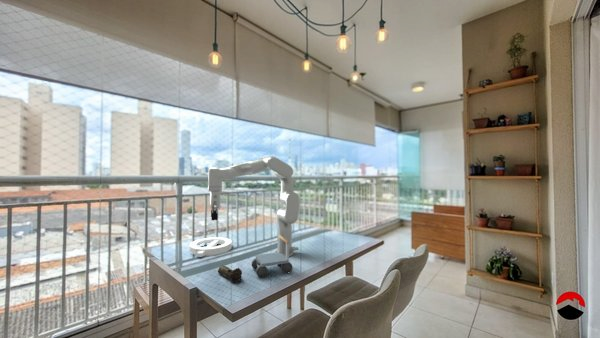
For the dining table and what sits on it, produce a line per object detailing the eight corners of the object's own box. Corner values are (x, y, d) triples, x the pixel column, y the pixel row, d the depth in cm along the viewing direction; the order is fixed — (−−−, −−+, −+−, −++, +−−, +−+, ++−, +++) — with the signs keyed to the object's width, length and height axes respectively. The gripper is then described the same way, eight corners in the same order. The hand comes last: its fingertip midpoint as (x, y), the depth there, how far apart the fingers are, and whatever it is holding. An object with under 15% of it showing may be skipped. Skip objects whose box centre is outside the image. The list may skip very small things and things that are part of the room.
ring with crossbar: (221, 241, 190) (221, 235, 190) (238, 250, 170) (238, 243, 170) (183, 248, 171) (184, 242, 171) (198, 259, 151) (198, 252, 151)
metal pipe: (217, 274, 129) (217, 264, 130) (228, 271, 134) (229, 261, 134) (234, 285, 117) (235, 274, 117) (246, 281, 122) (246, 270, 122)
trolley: (284, 263, 145) (284, 234, 145) (292, 273, 132) (293, 240, 132) (251, 268, 137) (251, 237, 137) (256, 279, 124) (257, 245, 124)
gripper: (222, 190, 132) (221, 221, 132) (220, 187, 148) (219, 215, 148) (208, 190, 129) (207, 221, 129) (207, 187, 146) (206, 216, 145)
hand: (214, 218), depth 139 cm, fingers open, 9 cm apart
